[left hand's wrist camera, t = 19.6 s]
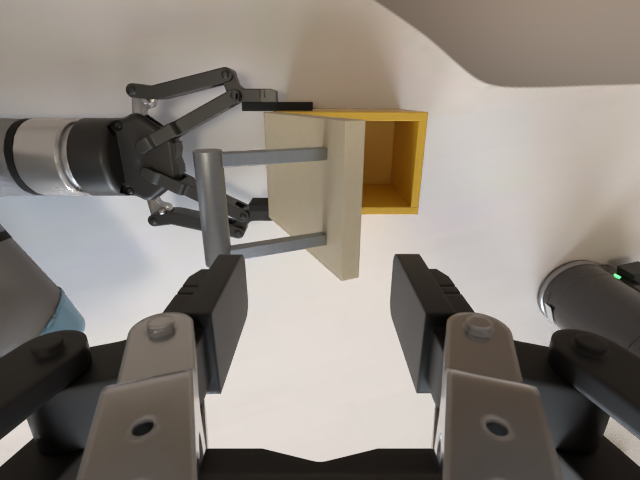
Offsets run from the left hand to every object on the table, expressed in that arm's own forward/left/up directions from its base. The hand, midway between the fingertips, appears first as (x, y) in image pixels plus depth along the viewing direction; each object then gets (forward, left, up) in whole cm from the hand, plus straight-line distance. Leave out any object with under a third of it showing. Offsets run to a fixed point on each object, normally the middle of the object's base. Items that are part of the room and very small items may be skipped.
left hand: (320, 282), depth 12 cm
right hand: (0, 0, -27) cm, 27 cm away
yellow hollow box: (-3, +1, -33) cm, 33 cm away
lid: (0, 0, -16) cm, 16 cm away
